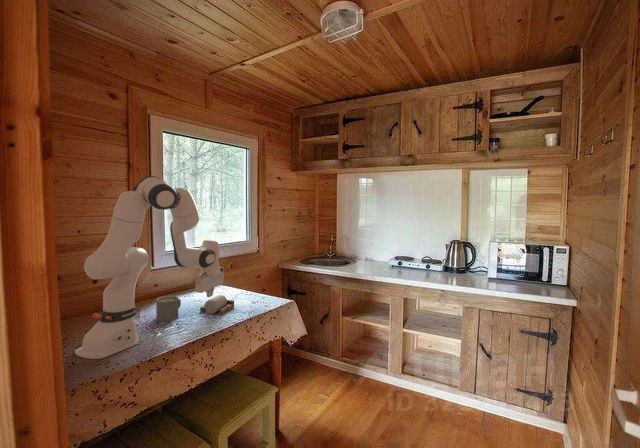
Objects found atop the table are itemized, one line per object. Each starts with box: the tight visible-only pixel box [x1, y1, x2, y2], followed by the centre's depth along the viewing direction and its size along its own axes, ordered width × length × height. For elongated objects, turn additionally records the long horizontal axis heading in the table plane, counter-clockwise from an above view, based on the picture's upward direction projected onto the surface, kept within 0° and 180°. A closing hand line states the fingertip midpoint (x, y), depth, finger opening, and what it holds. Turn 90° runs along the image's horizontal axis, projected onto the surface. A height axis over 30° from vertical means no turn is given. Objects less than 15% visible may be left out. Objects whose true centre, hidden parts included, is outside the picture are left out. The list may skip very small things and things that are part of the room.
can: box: [204, 294, 228, 315], centre depth 171 cm, size 8×8×12 cm
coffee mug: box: [155, 295, 182, 323], centre depth 160 cm, size 13×10×10 cm
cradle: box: [199, 299, 235, 316], centre depth 172 cm, size 12×13×4 cm
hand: (209, 296), depth 165 cm, fingers closed
